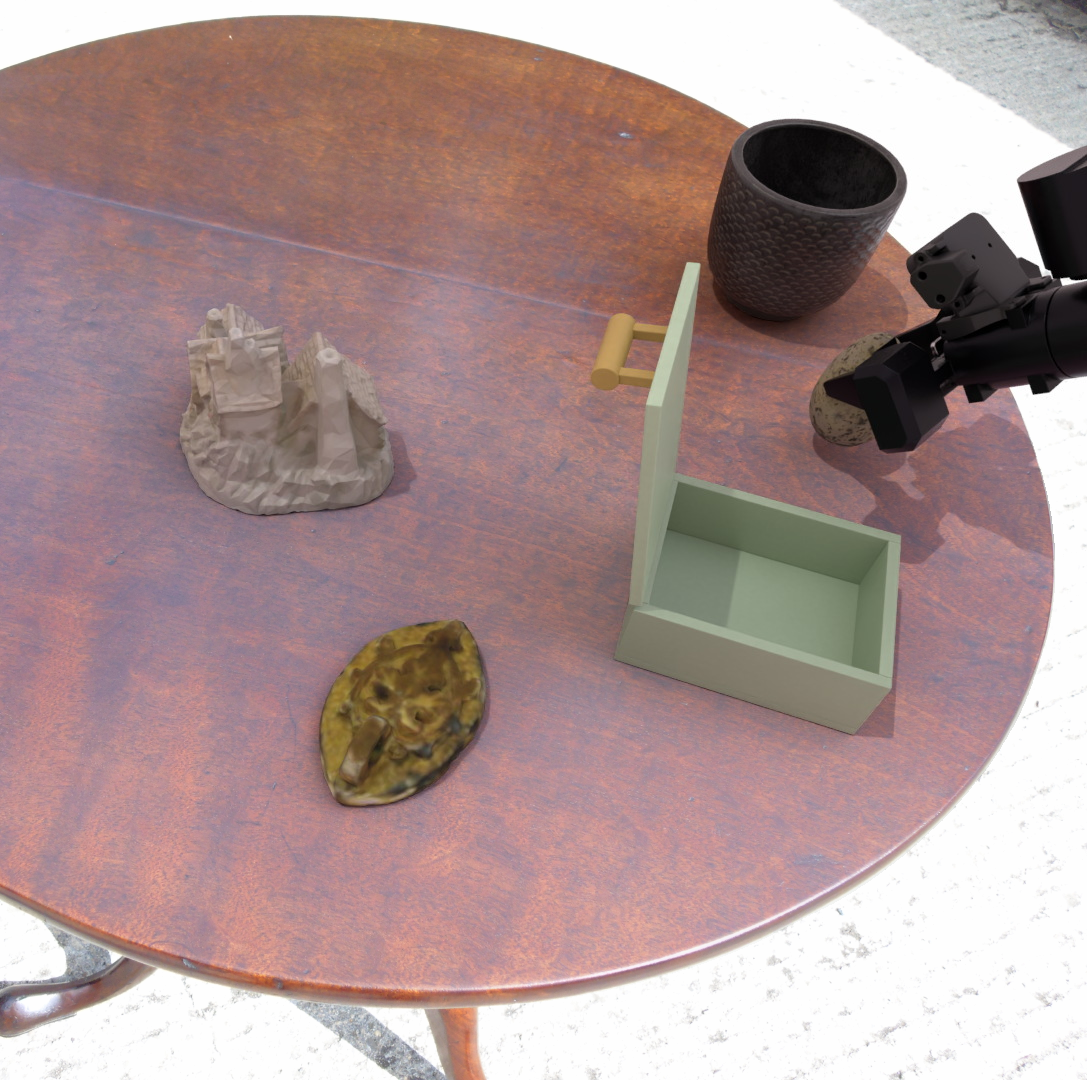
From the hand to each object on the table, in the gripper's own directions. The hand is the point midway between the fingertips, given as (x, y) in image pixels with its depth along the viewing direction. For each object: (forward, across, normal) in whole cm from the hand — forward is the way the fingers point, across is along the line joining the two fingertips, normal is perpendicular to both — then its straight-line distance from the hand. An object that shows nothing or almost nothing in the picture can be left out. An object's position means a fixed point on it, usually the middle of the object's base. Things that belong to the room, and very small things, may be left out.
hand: (848, 371), depth 79 cm
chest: (0, +19, +10) cm, 21 cm away
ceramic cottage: (+23, +33, -14) cm, 42 cm away
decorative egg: (+3, 0, +5) cm, 6 cm away
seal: (+7, +42, +3) cm, 42 cm away
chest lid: (-5, +23, -6) cm, 24 cm away
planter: (+14, -12, -5) cm, 19 cm away
